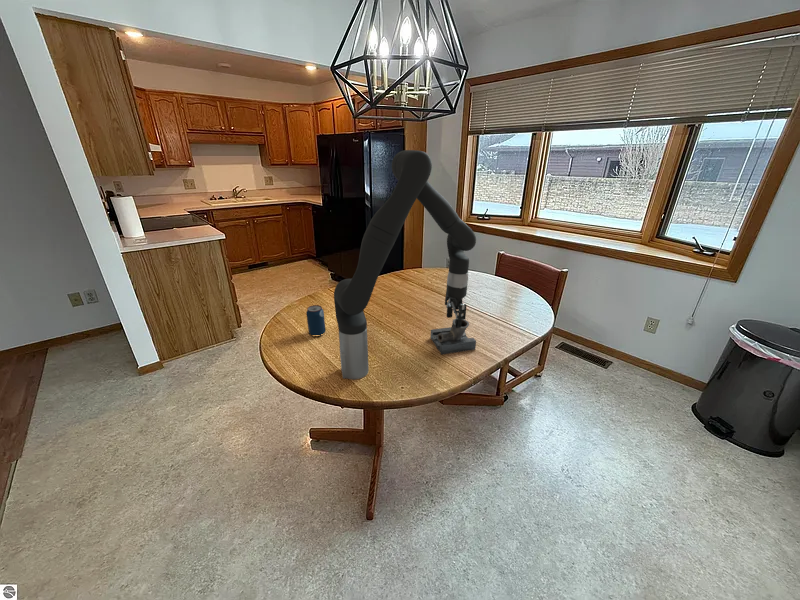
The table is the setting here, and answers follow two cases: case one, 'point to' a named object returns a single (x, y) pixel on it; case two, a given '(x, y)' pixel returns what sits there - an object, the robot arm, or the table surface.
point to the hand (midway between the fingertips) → (453, 322)
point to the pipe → (454, 332)
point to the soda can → (315, 320)
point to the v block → (452, 342)
